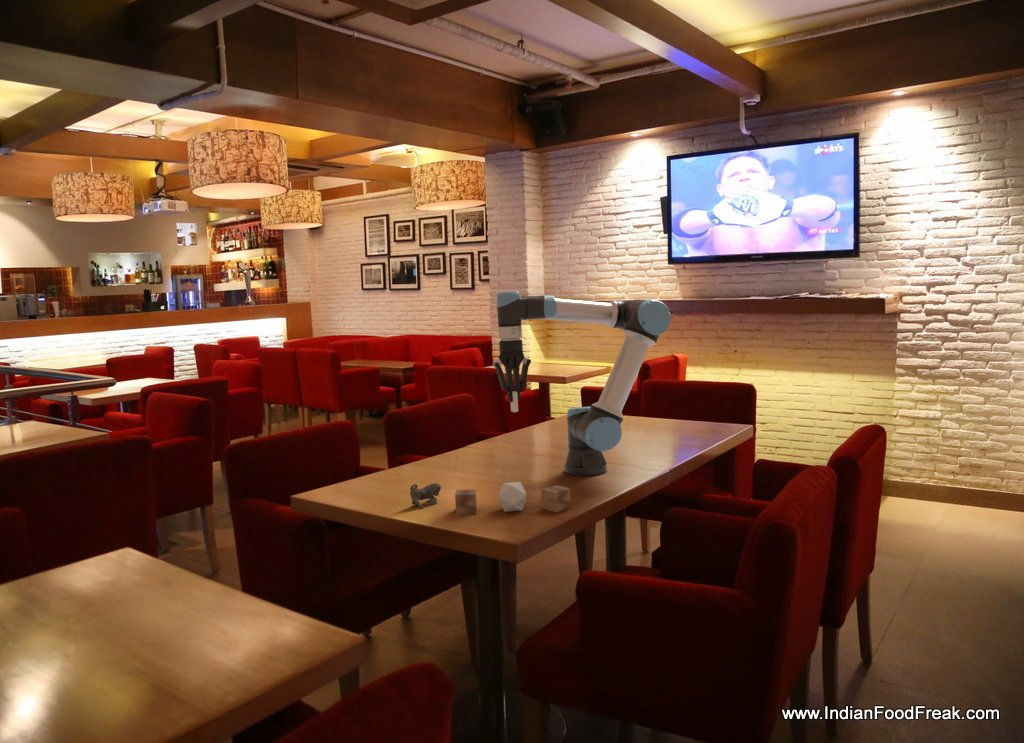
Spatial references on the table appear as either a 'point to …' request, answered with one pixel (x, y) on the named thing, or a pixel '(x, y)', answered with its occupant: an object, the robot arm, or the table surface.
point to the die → (512, 496)
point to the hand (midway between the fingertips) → (514, 411)
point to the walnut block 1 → (466, 502)
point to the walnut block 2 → (556, 498)
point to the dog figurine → (425, 494)
